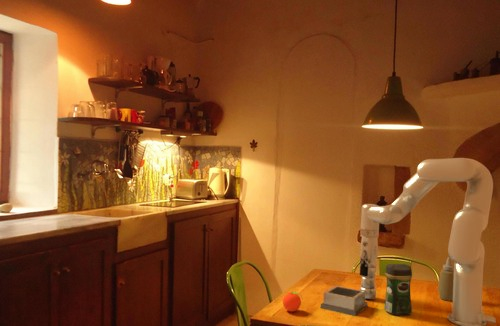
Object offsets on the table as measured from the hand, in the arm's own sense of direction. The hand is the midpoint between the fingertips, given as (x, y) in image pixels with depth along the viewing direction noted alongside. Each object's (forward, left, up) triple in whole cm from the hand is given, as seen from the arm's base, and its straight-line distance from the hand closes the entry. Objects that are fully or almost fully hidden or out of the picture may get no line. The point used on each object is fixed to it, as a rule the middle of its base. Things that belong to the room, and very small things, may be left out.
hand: (367, 273), depth 180 cm
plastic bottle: (0, 0, -11) cm, 11 cm away
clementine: (+18, +34, -11) cm, 40 cm away
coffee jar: (-15, +10, -11) cm, 21 cm away
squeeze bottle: (-28, -22, -11) cm, 38 cm away
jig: (+4, +17, -11) cm, 20 cm away
